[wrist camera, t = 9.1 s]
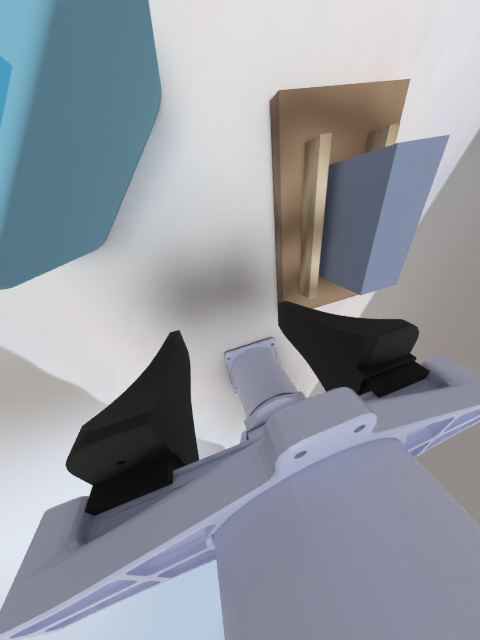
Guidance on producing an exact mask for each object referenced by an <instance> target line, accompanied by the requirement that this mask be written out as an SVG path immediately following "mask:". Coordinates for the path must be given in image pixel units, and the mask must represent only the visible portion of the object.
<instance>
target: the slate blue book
mask: <svg viewBox="0 0 480 640" xmlns="http://www.w3.org/2000/svg"><path fill="white" fill-rule="evenodd" d="M449 136H450V135H446V136H439V137H433V138H427V139H420V140H414V141H408V142H401V143H396V144H393V145H390V146H387V147H384V148H381V149H378V150H374V151H371V152H368V153H365V154H362V155H359V156H356V157H352V158H349V159H346V160H343V161H340V162H337V163H333V164H330V165H329V169H328V180H327V190H326V201H325V211H324V222H323V232H322V243H321V253H320V264H319V274H318V276H319V277H321V278H324V279H326V280H328V281H330V282H332V283H335V284H337V285H339V286H341V287H343V288H346V289H348V290H350V291H352V292H354V293H356V294H359V295H363V294H366V293H369V292H373V291H376V290H379V289H382V288H386V287H389V286H392V285H395V284H397V281H398V278H399V276H400V273H401V270H402V267H403V264H404V262H405V259H406V256H407V253H408V250H409V247H410V245H411V242H412V239H413V236H414V234H415V231H416V228H417V225H418V222H419V220H420V217H421V214H422V211H423V208H424V206H425V203H426V200H427V197H428V194H429V192H430V189H431V186H432V183H433V180H434V178H435V175H436V172H437V169H438V166H439V164H440V161H441V158H442V155H443V152H444V150H445V147H446V144H447V141H448V138H449Z"/></svg>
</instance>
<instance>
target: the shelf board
mask: <svg viewBox="0 0 480 640" xmlns="http://www.w3.org/2000/svg"><path fill="white" fill-rule="evenodd" d="M409 82H410V79H404V80H393V81H381V82H370V83H358V84H347V85H335V86H324V87H312V88H301V89H289V90H279V91H278V92H277V93H276V94H275V96H274V97H273V98H272V99H271V101H270V110H271V136H272V161H273V187H274V212H275V237H276V263H277V288H278V303H279V302H282V301H289V302H292V303H296V304H299V305H302V306H305V307H308V308H311V309H313V308H316V307H320V306H323V305H326V304H329V303H333V302H336V301H339V300H343V299H346V298H349V297H352V296H356V295H358V294H356V293H354V292H352V291H350V290H348V289H346V288H343V287H341V286H339V285H337V284H335V283H332V282H330V281H328V280H326V279H324V278H321V277H319V276H318V274H319V264H320V253H321V243H322V232H323V222H324V211H325V201H326V190H327V180H328V169H329V165H330V164H333V163H337V162H340V161H343V160H346V159H349V158H352V157H356V156H359V155H362V154H365V153H368V152H371V151H374V150H378V149H381V148H384V147H387V146H390V145H393V144H395V142H396V138H397V134H398V130H399V126H400V119H401V115H402V111H403V107H404V103H405V99H406V94H407V90H408V86H409Z"/></svg>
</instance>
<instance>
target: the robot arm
mask: <svg viewBox="0 0 480 640" xmlns="http://www.w3.org/2000/svg"><path fill="white" fill-rule="evenodd" d="M278 326H279V327H280V329H281V330H282V332H283V334H284V335H285V336H286V338H287V339H288V340H289V341H290V342H291V343H292V345H293V346H294V347H295V348H296V349H297V350H298V352H299V353H300V354H301V355H302V356H303V357H304V359H305V360H306V361H307V363H308V364H309V366H310V367H311V369H312V370H313V371H314V373H315V375H316V376H317V378H318V379H319V381H320V382H321V384H322V386H323V387H324V389H325V391H326V392H325V393H322V394H319V395H317V396H314V397H309V398H307V399H306V397H305V396H304V394H303V393H302V391H300V392H298V391H297V389H296V388H295V386H294V385H293V383H292V382H291V380H290V379H289V377H288V376H287V374H286V373H285V371H284V370H283V368H282V367H281V365H280V364H279V362H278V361H277V359H276V348H275V339H274V338H270V339H267V340H263V341H260V342H257V343H254V344H251V345H248V346H245V347H242V348H239V349H236V350H232V351H229V352H226V353H225V354H224V356H225V360H226V363H227V367H228V370H229V374H230V377H231V381H232V384H233V388H234V391H235V393H239V396H240V399H241V402H242V405H243V408H244V411H245V414H246V417H247V419H246V420H245V421H244V422H245V425H246V428H247V430H246V431H244V432H242V436H241V440H240V444H238V445H236V446H233V447H231V448H228V449H226V450H223V451H221V452H219V453H216V454H214V455H211V456H209V457H206V458H204V459H201V460H199V455H198V449H197V443H196V436H195V429H194V421H193V414H192V405H191V374H190V359H189V352H188V350H187V347H186V345H185V343H184V340H183V338H182V335H181V333H180V330H178V331H174V332H170V334H169V335H168V337H167V338H166V340H165V342H164V344H163V345H162V347H161V348H160V350H159V352H158V353H157V355H156V356H155V358H154V359H153V360H152V362H151V363H150V365H149V366H148V367H147V368H146V370H145V371H144V372H143V373H142V374H141V375H140V377H139V378H138V379H137V380H136V381H135V382H134V383H133V384H132V385H131V386H130V387H129V388H128V389H127V390H126V391H125V392H124V393H123V394H122V395H120V396H119V397H118V398H117V399H116V400H115V401H114V402H112V403H111V404H110V405H109V406H108V407H106V408H105V409H104V410H103V411H101V412H100V413H99V414H98V415H96V416H95V417H94V418H92V419H91V420H90V421H88V422H87V423H86V424H84V425H83V426H82V428H81V430H80V432H79V434H78V436H77V438H76V441H75V443H74V445H73V447H72V449H71V452H70V454H69V456H68V458H67V461H66V467H67V470H68V471H69V472H70V473H71V474H73V475H74V476H76V477H78V478H80V479H82V480H84V481H85V482H87V483H89V484H91V485H93V487H92V490H91V493H90V496H83V497H79V498H76V499H73V500H71V501H68V502H65V503H63V504H60V505H58V506H55V507H53V508H50V509H48V510H47V511H45V513H44V515H43V517H42V519H41V522H40V524H39V526H38V528H37V530H36V533H35V535H34V537H33V539H32V542H31V544H30V546H29V548H28V551H27V553H26V555H25V557H24V560H23V562H22V564H21V566H20V569H19V571H18V573H17V575H16V577H15V580H14V582H13V584H12V586H11V588H10V591H9V593H8V595H7V597H6V599H5V602H4V604H3V606H2V608H1V611H0V640H19V639H24V638H29V637H34V636H39V635H44V634H49V633H54V632H57V631H60V630H61V629H64V628H66V627H68V626H70V625H72V624H74V623H76V622H78V621H80V620H82V619H84V618H86V617H88V616H90V615H92V614H95V613H96V612H99V611H101V610H103V609H105V608H107V607H110V606H112V605H114V604H116V603H118V602H121V601H123V600H125V599H127V598H129V597H132V596H134V595H136V594H138V593H141V592H143V591H145V590H148V589H150V588H152V587H154V586H157V585H159V584H161V583H164V582H166V581H168V580H170V579H173V578H175V577H177V576H180V575H182V574H184V573H187V572H189V571H191V570H193V569H196V568H198V567H200V566H203V565H205V564H207V563H209V562H212V561H214V560H217V569H218V579H219V587H220V597H221V606H222V616H223V625H224V635H225V640H480V526H479V525H478V524H477V523H476V522H475V521H474V520H473V519H472V518H471V517H470V516H469V515H468V514H467V512H465V510H464V509H463V508H462V507H461V506H460V505H459V504H458V503H457V502H456V501H455V500H454V499H453V498H452V497H451V496H450V495H449V494H448V493H447V492H446V491H445V490H444V488H443V487H442V486H441V485H440V484H439V483H438V482H437V481H436V480H435V479H434V478H433V477H432V476H431V475H430V474H429V473H428V472H427V471H426V470H425V468H424V467H422V465H421V464H420V463H419V462H418V461H417V460H416V459H415V457H416V456H418V455H420V454H422V453H423V452H425V451H427V450H428V449H430V448H432V447H434V446H435V445H437V444H439V443H441V442H443V441H444V440H446V439H448V438H449V437H451V436H453V435H455V434H457V433H459V432H461V431H463V430H465V429H467V428H468V427H470V426H472V425H474V424H476V423H478V422H479V421H480V375H478V374H477V373H475V372H473V371H471V370H469V369H467V368H466V367H464V366H462V365H460V364H458V363H456V362H454V361H452V360H450V359H449V358H447V357H445V356H443V355H439V356H437V357H434V358H432V359H429V360H427V361H425V362H423V363H422V364H421V365H420V364H418V363H416V362H415V360H416V357H415V356H413V355H412V354H410V352H411V350H412V348H413V347H414V345H415V343H416V341H417V339H418V335H419V330H418V327H416V326H415V325H413V324H411V323H409V322H407V321H404V320H402V319H366V318H355V317H347V316H340V315H335V314H330V313H326V312H322V311H318V310H315V309H311V308H308V307H305V306H302V305H299V304H296V303H292V302H289V301H282V302H279V303H278ZM271 343H272V344H271ZM228 357H229V358H228Z"/></svg>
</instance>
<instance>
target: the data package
mask: <svg viewBox="0 0 480 640" xmlns="http://www.w3.org/2000/svg"><path fill="white" fill-rule="evenodd" d="M160 100H161V84H160V77H159V70H158V63H157V57H156V50H155V43H154V36H153V29H152V22H151V15H150V9H149V2H148V0H0V290H2V289H8V288H12V287H15V286H17V285H19V284H22V283H24V282H26V281H28V280H30V279H33V278H35V277H37V276H39V275H42V274H44V273H46V272H48V271H50V270H53V269H55V268H57V267H59V266H62V265H64V264H66V263H68V262H70V261H73V260H75V259H77V258H79V257H81V256H84V255H86V254H88V253H90V252H93V251H95V250H97V249H98V248H99V247H100V246H101V245H102V244H103V242H104V241H105V239H106V237H107V236H108V233H109V231H110V229H111V226H112V224H113V221H114V219H115V217H116V214H117V212H118V209H119V207H120V204H121V202H122V200H123V197H124V195H125V192H126V190H127V187H128V185H129V183H130V180H131V178H132V175H133V173H134V170H135V168H136V166H137V163H138V161H139V158H140V156H141V153H142V151H143V149H144V146H145V144H146V141H147V139H148V136H149V134H150V132H151V129H152V127H153V124H154V122H155V119H156V116H157V113H158V109H159V105H160Z"/></svg>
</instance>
